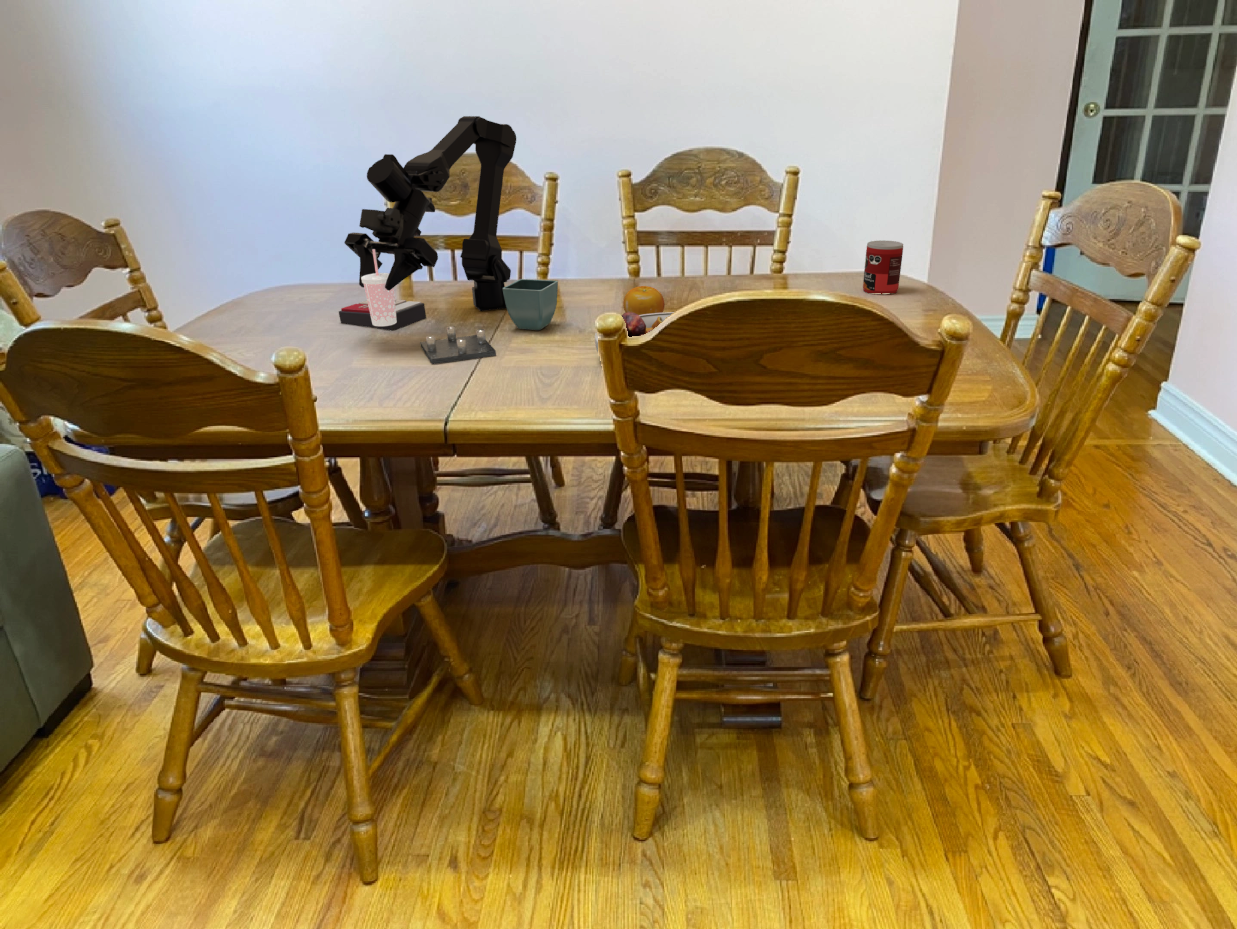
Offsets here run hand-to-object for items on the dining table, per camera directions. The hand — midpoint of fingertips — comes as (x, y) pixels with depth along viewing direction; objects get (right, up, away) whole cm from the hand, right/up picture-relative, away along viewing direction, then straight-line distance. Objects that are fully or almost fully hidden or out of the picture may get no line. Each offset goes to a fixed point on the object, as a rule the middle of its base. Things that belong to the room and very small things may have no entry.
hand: (374, 287), depth 158 cm
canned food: (+107, +7, +39) cm, 114 cm away
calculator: (-5, -2, +26) cm, 26 cm away
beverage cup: (+1, -6, +4) cm, 7 cm away
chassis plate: (+15, -11, +3) cm, 19 cm away
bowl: (+57, -14, -3) cm, 58 cm away
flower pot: (+28, -5, +18) cm, 34 cm away
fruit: (+51, -3, +21) cm, 55 cm away
